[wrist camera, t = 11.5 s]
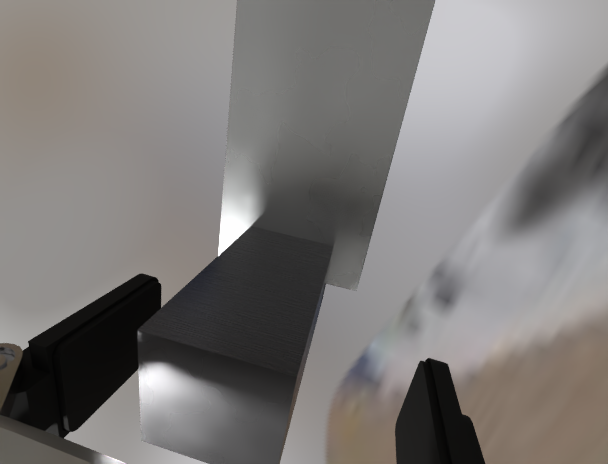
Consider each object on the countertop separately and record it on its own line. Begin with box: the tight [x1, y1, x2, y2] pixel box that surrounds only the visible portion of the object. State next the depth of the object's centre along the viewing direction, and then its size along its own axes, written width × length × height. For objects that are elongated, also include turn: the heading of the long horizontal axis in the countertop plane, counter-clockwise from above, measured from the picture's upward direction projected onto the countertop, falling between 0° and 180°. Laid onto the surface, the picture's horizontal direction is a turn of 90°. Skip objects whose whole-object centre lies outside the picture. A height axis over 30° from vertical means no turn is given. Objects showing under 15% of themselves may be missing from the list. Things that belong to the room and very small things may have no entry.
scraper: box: [137, 0, 435, 464], centre depth 10 cm, size 16×7×9 cm, turn 170°
